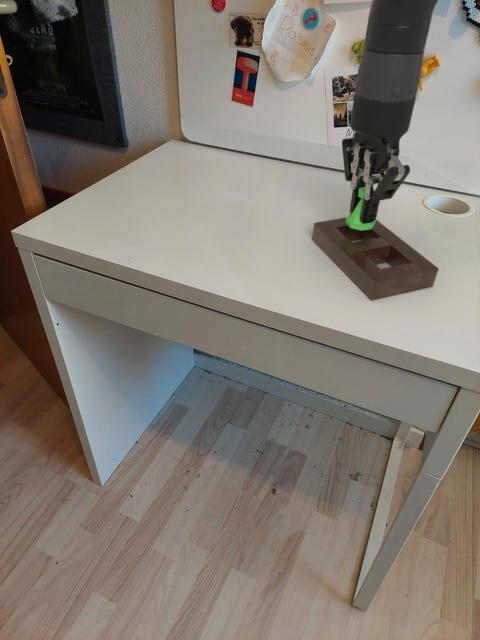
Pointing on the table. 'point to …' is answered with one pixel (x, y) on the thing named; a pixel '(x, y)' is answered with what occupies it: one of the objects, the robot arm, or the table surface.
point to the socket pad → (374, 258)
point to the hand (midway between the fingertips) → (361, 217)
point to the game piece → (354, 218)
